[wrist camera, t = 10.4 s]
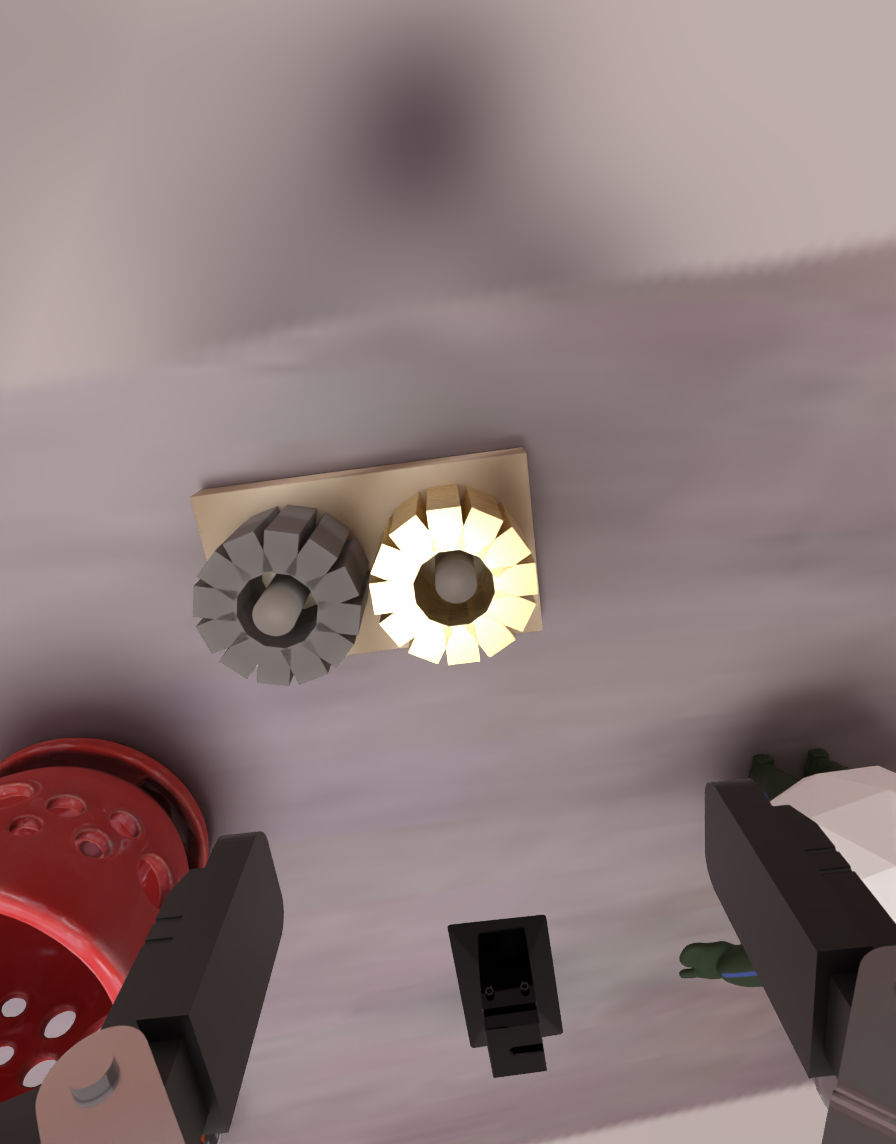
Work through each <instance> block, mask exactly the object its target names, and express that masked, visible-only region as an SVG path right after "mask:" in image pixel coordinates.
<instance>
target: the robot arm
mask: <svg viewBox="0 0 896 1144" xmlns="http://www.w3.org/2000/svg"><path fill="white" fill-rule="evenodd" d="M705 856H706V863H707V868H708V872H709V876H710V879H711V882H712V885H713V888H714V890H715V892H716V894H717V896H718V898H719V900H720V902H721V904H722V906H723V908H724V910H725V912H726V914H727V916H728V918H729V920H730V922H731V924H732V926H733V928H734V930H735V932H736V934H737V936H738V938H739V940H740V942H741V944H742V946H743V948H744V950H745V952H746V954H747V956H748V958H749V960H750V962H751V964H752V966H753V968H754V970H755V972H756V974H757V976H758V978H759V980H760V982H761V983H762V985H763V987H764V989H765V991H766V993H767V995H768V997H769V999H770V1001H771V1003H772V1005H773V1007H774V1009H775V1011H776V1013H777V1015H778V1017H779V1019H780V1021H781V1023H782V1025H783V1027H784V1029H785V1031H786V1033H787V1035H788V1037H789V1039H790V1041H791V1043H792V1045H793V1047H794V1049H795V1051H796V1053H797V1055H798V1057H799V1059H800V1061H801V1063H802V1065H803V1067H804V1069H805V1071H806V1073H807V1075H808V1077H809V1078H812V1079H813V1081H814V1083H815V1085H816V1089H817V1091H818V1093H819V1095H820V1096H821V1099H822V1100H823V1102H824V1104H825V1105H826V1107H827V1109H828V1113H827V1118H826V1124H825V1129H824V1135H823V1139H822V1144H896V923H895V922H894V921H893V919H892V918H891V917H890V916H889V914H888V913H887V912H886V910H885V909H884V908H883V907H882V905H881V904H880V903H879V902H878V900H877V899H876V898H875V896H874V895H873V894H872V893H871V891H870V890H869V889H868V888H867V886H866V885H865V884H864V882H863V881H862V880H861V879H860V877H859V876H858V875H857V874H856V872H855V871H853V872H852V870H851V866H850V865H849V863H848V862H847V861H846V860H845V858H844V857H843V856H842V855H841V853H840V852H839V851H838V852H837V851H836V848H835V846H834V844H833V843H832V842H831V841H830V839H829V838H828V837H827V835H826V834H825V833H824V832H823V830H822V829H821V828H820V827H819V825H818V824H817V823H816V822H814V821H813V820H811V819H810V818H808V817H807V816H805V815H804V814H802V813H801V812H799V811H798V810H796V809H795V808H793V807H792V806H791V805H780V806H772V804H771V803H770V802H769V800H768V799H767V798H766V796H765V795H764V793H763V792H762V791H761V789H760V788H759V786H758V785H757V784H756V782H755V781H754V780H752V779H751V778H746V779H737V780H728V781H719V782H710V783H707V785H706V788H705ZM283 919H284V910H283V899H282V894H281V890H280V887H279V883H278V879H277V875H276V871H275V867H274V863H273V859H272V856H271V852H270V848H269V844H268V840H267V837H266V835H265V834H264V833H263V832H261V831H260V832H251V833H242V834H234V835H225V836H221V837H219V839H218V840H217V842H216V844H215V846H214V848H213V850H212V853H211V855H210V857H209V859H208V861H207V864H206V866H205V868H197V869H191V870H190V871H189V872H188V873H187V874H186V875H185V876H184V877H183V878H182V879H181V880H180V881H179V882H178V883H177V884H176V885H175V886H174V887H173V888H172V890H171V891H170V892H169V893H168V895H167V897H166V899H165V901H164V903H163V905H162V907H161V909H160V911H159V913H158V915H157V917H156V923H155V924H153V925H152V927H151V929H150V931H149V933H148V935H147V937H146V939H145V945H144V946H142V947H141V949H140V951H139V953H138V955H137V957H136V959H135V961H134V963H133V965H132V967H131V969H130V971H129V973H128V975H127V977H126V979H125V981H124V983H123V985H122V987H121V989H120V991H119V993H118V995H117V997H116V999H115V1001H114V1003H113V1005H112V1007H111V1009H110V1011H109V1013H108V1015H107V1017H106V1020H105V1022H104V1024H103V1026H102V1028H101V1029H100V1031H97V1032H95V1033H93V1034H91V1035H89V1036H87V1037H86V1038H84V1039H82V1040H81V1041H79V1042H78V1043H77V1044H75V1045H74V1046H73V1047H72V1048H70V1049H69V1050H68V1051H67V1052H66V1053H65V1054H64V1055H63V1056H62V1057H61V1058H60V1059H59V1060H58V1061H57V1062H56V1063H55V1064H54V1066H53V1067H52V1068H51V1069H50V1071H49V1073H48V1074H47V1076H46V1077H45V1079H44V1081H43V1083H42V1085H41V1086H39V1087H37V1088H35V1089H33V1090H31V1091H28V1092H26V1093H23V1094H21V1095H18V1096H16V1097H14V1098H11V1099H9V1100H6V1101H4V1102H1V1103H0V1144H200V1140H201V1137H202V1135H207V1134H217V1133H227V1132H229V1128H230V1125H231V1121H232V1117H233V1114H234V1110H235V1106H236V1102H237V1099H238V1095H239V1091H240V1088H241V1084H242V1080H243V1076H244V1073H245V1069H246V1065H247V1062H248V1058H249V1054H250V1050H251V1047H252V1043H253V1039H254V1036H255V1032H256V1028H257V1024H258V1021H259V1017H260V1013H261V1010H262V1006H263V1002H264V998H265V995H266V991H267V987H268V984H269V980H270V976H271V972H272V969H273V965H274V961H275V958H276V954H277V950H278V946H279V943H280V939H281V935H282V930H283Z"/></svg>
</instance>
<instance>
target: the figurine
mask: <svg viewBox="0 0 896 1144" xmlns="http://www.w3.org/2000/svg"><path fill="white" fill-rule="evenodd" d="M828 758H829V754H828V753H827V752H826V751H825V750H824V749H816V750H810V751H809V756H808V765H807V768H806V770H805V771H804V778H803V779H801V780H800V781H798V780H796V779H795V778H794V777H792V776H791V775H789V774H786V773H784V772H782V771H781V770H780V769H778V768H776V767H774V765H773V762H774V761H773V759H772V758H771V757H770V756H769V755H756V756H754V760H753V769H752V771H751V772H750V776H749V778H751V779H752V780H754V781H755V782H756V784H757V785H758V786H759V788H760V789H761V791H762V792H763V793H764V795H765V796H766V798H767V799H768V800H769V802H770V803H771V804H772V806H780V805H791V806H792V807H793V808H795V809H796V810H798V811H799V812H801V813H802V814H804V815H805V816H807V817H808V818H810V819H811V820H813V821H814V822H816V823H817V824H818V825H819V827H820V828H821V829H822V830H823V832H824V833H825V834H826V835H827V837H828V838H829V839H830V841H831V842H832V843H833V844H834V846H835V848H836V851H837V852H838V851H839V852H840V853H841V855H842V856H843V857H844V858H845V860H846V861H847V862H848V863H849V865H850V866H851V870H852V872H853V871H855V872H856V874H857V875H858V876H859V877H860V879H861V880H862V881H863V882H864V884H865V885H866V886H867V888H868V889H869V890H870V891H871V893H872V894H873V895H874V896H875V898H876V899H877V900H878V902H879V903H880V904H881V905H882V907H883V908H884V909H885V910H886V912H887V913H888V914H889V916H890V917H891V918H892V919H893V921H894V922H895V923H896V773H894V772H892V771H890V770H887V769H885V768H883V767H880V766H871V767H864V768H856V769H850V768H847V767H844V766H841V765H840V764H838V763H835V762H833V761H830V760H829V759H828ZM680 962H681V963H682V965H684V966H687V967H691V968H690V969H683V970H681V971H680V973H679V974H680V976H681V978H696V977H699V978H707V979H720V978H723V979H724V980H725V981H727V982H729V983H732V984H735V985H739V986H746V987H762V986H763V985H762V983H761V982H760V980H759V978H758V976H757V974H756V972H755V970H754V968H753V966H752V964H751V962H750V960H749V958H748V956H747V954H746V952H745V950H744V948H743V946H742V944H740V945H733V944H731V943H728V942H725V941H719V942H713V943H693V944H690V945H687V946H686V947H685V949H683V951H682V953H681V955H680Z"/></svg>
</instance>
